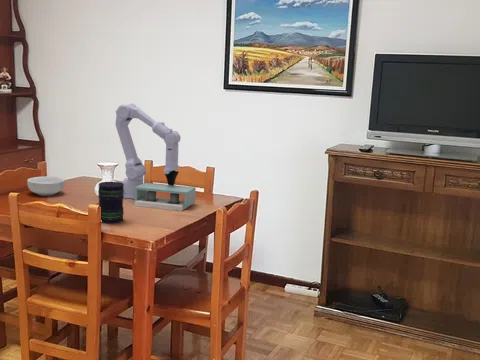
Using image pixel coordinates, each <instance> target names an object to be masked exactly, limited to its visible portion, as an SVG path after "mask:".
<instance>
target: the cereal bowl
mask: <svg viewBox="0 0 480 360" xmlns="http://www.w3.org/2000/svg"><path fill="white" fill-rule="evenodd" d="M65 184H66V180H65V178H64V177H61V176H50V175H48V176H45V175H44V176H35V177H30V178H28V179H27V187H28V189H29V190H30V191H31V192H32V193H35V194H37V195H38V196H45V197H47V196H49V197H50V196H54V195H56V194H57V193H59V192H61V191H62V190H63V189H64V188H65V186H66V185H65Z"/></svg>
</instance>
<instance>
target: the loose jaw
mask: <svg viewBox="0 0 480 360" xmlns="http://www.w3.org/2000/svg"><path fill="white" fill-rule="evenodd" d="M156 197H157V192H156V191H147V201H151V202H156Z"/></svg>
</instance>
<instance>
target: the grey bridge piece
mask: <svg viewBox="0 0 480 360" xmlns="http://www.w3.org/2000/svg"><path fill="white" fill-rule="evenodd" d="M196 190H197V189H196V187H193V186H185V185H176V184H174V185H168V184H166V183H165V184H164V183H154V182H143V184H141V185H139V186H136V187H135V199H134V202H135V201H137V200H139V199H141V198H143V197H145V196H147V191H156V193H157V192H159V193H167V194H168V193H169V194H171V193H176V194H179V195H184V198H183V200H184V208H185V209H187V208H189V207H190V206H191V205H194V204H195V203H196ZM188 206H189V207H188Z"/></svg>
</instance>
